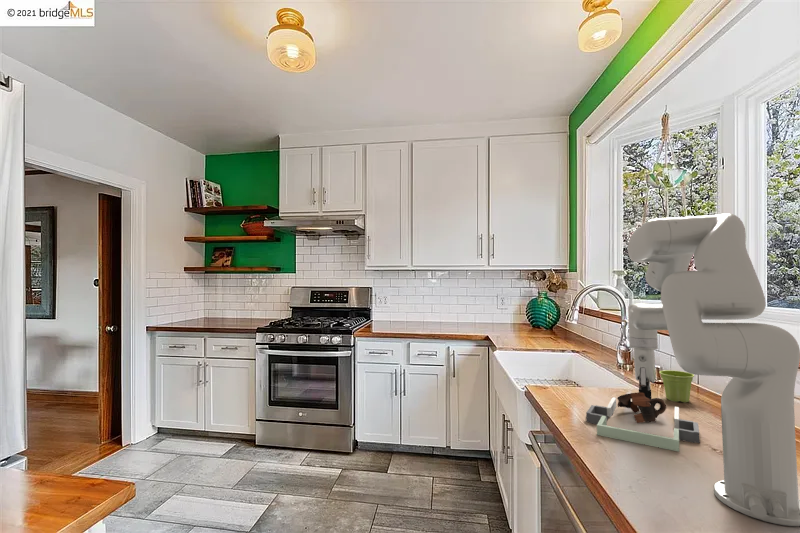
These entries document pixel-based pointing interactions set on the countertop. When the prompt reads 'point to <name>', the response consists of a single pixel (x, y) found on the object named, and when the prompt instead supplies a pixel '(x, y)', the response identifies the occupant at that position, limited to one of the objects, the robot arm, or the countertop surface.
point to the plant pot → (677, 385)
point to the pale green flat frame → (682, 431)
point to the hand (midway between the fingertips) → (645, 402)
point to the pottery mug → (642, 406)
